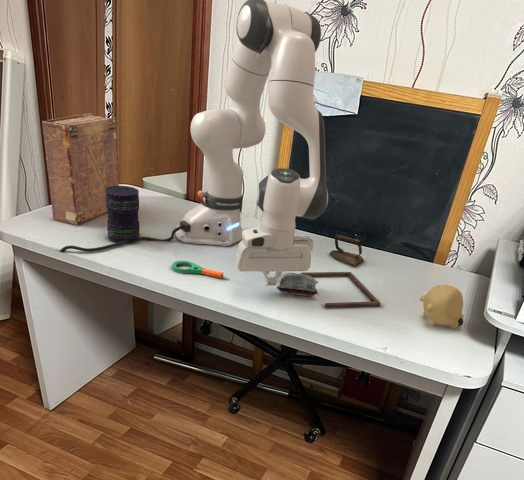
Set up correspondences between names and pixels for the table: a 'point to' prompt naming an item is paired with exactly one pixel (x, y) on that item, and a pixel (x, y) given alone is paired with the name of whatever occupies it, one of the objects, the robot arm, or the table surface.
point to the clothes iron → (346, 256)
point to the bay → (358, 284)
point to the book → (80, 165)
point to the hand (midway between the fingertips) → (270, 285)
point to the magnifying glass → (195, 269)
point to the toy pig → (443, 306)
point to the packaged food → (297, 284)
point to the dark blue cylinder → (122, 214)
